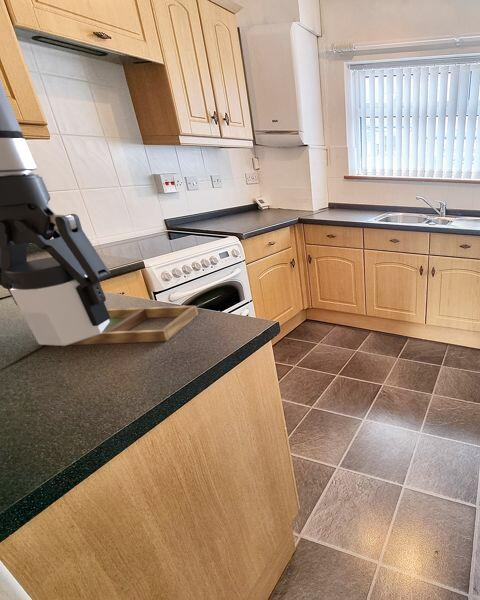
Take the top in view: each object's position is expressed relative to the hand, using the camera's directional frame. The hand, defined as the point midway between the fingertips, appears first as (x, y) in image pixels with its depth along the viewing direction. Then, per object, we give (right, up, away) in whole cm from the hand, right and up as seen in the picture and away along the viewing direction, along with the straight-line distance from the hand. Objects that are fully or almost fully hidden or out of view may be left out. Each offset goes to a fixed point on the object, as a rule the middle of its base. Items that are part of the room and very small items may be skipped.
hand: (71, 322), depth 54 cm
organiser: (-12, -3, +26) cm, 29 cm away
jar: (0, -2, +1) cm, 2 cm away
